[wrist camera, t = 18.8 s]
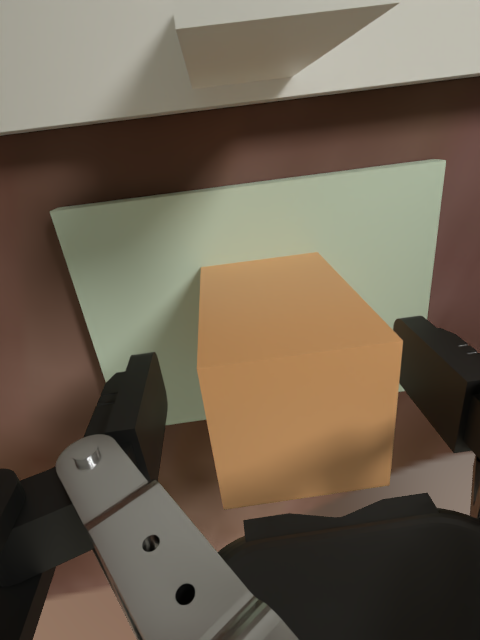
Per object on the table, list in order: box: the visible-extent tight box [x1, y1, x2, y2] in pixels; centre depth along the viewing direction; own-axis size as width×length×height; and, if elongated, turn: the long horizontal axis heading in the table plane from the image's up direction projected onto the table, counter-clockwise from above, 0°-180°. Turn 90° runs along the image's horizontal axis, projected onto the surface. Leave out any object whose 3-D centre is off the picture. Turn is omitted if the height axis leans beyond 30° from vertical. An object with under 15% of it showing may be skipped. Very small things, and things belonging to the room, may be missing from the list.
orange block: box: [197, 252, 403, 510], centre depth 13 cm, size 4×8×7 cm, turn 6°
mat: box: [50, 159, 446, 425], centre depth 16 cm, size 14×10×1 cm
